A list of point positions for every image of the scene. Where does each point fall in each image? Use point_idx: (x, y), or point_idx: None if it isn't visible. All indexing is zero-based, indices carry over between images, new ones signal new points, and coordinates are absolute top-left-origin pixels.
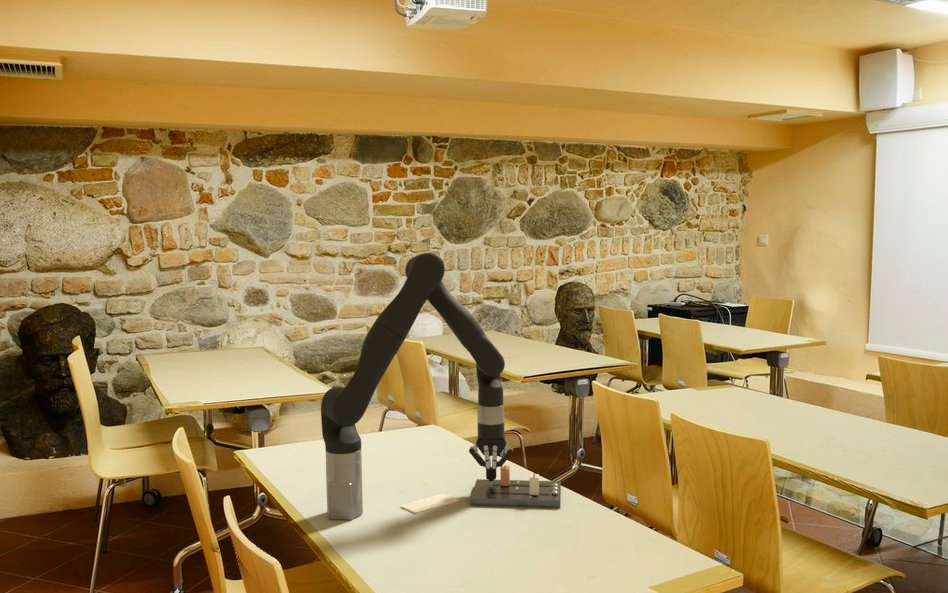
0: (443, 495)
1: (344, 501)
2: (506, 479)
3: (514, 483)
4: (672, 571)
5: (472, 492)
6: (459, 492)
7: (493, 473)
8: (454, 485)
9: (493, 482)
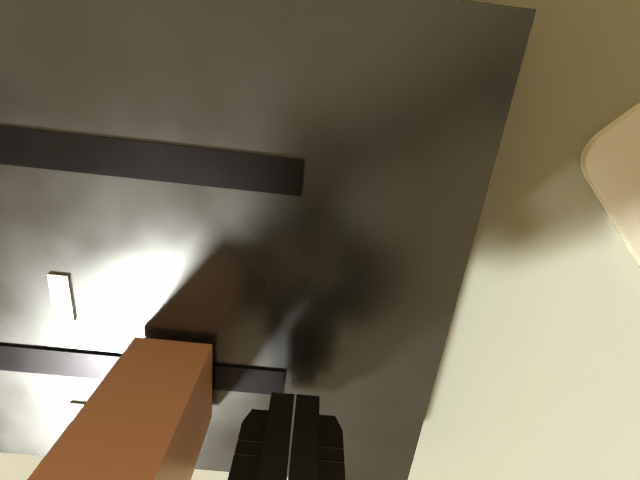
0: None
1: None
2: (132, 380)
3: None
4: None
5: (482, 198)
6: (535, 339)
7: (260, 457)
8: (542, 455)
9: None
